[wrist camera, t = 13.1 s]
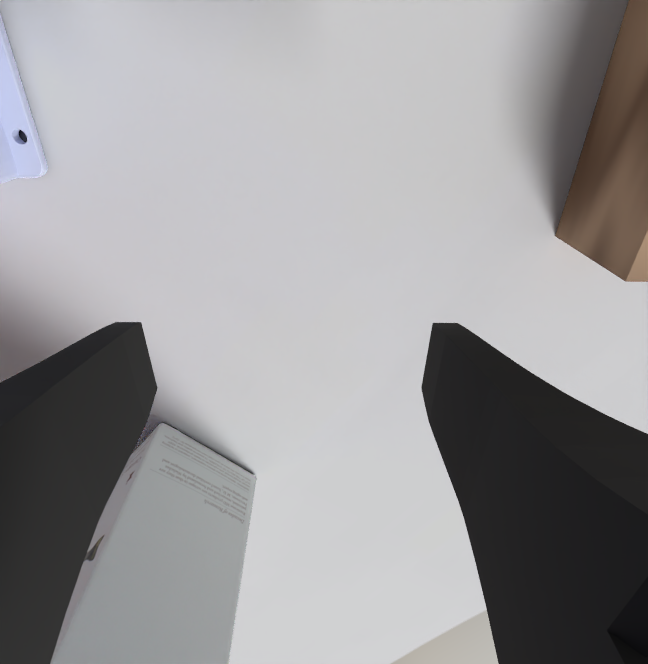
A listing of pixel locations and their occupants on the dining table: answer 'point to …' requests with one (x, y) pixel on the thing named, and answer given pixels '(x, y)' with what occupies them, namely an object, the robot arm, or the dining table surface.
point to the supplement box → (163, 560)
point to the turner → (615, 162)
